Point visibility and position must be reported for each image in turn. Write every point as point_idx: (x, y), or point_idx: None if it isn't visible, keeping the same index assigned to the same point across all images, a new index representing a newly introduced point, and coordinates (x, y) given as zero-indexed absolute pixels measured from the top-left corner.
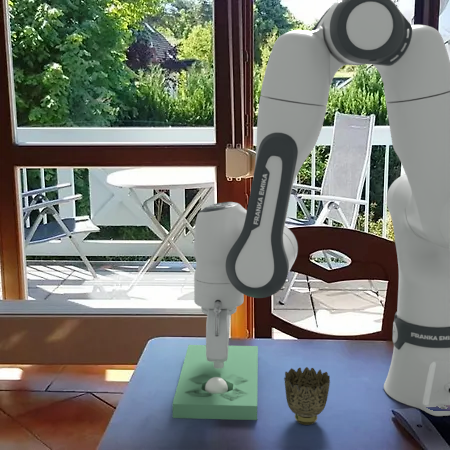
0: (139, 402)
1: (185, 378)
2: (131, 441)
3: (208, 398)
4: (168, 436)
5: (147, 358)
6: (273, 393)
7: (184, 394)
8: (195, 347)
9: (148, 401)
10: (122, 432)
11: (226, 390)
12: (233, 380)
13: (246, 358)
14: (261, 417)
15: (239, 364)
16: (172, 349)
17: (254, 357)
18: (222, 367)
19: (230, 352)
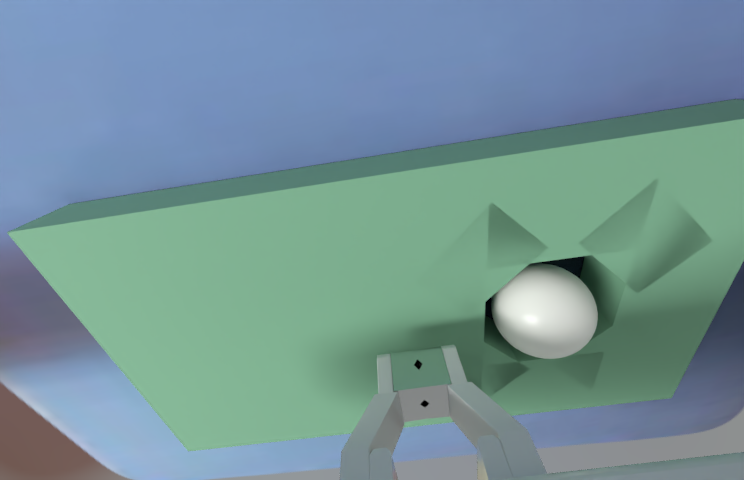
0: (529, 429)
1: None
2: (733, 398)
3: (659, 321)
4: (740, 343)
5: (270, 469)
6: (457, 56)
7: (606, 386)
8: (201, 433)
9: (525, 417)
10: (680, 420)
11: (568, 274)
12: (492, 269)
13: (214, 259)
14: (712, 82)
15: (302, 276)
16: (181, 445)
17: (180, 224)
18: (454, 347)
19: (180, 332)
